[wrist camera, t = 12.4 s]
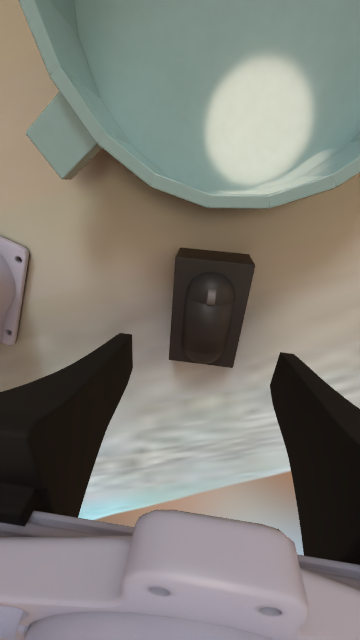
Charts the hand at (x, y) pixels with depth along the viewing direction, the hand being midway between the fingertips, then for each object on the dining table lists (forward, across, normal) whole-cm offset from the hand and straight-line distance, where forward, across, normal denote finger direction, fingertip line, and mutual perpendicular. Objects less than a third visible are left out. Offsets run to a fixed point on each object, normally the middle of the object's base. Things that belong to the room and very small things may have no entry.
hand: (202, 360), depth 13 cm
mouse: (+8, 0, 0) cm, 8 cm away
